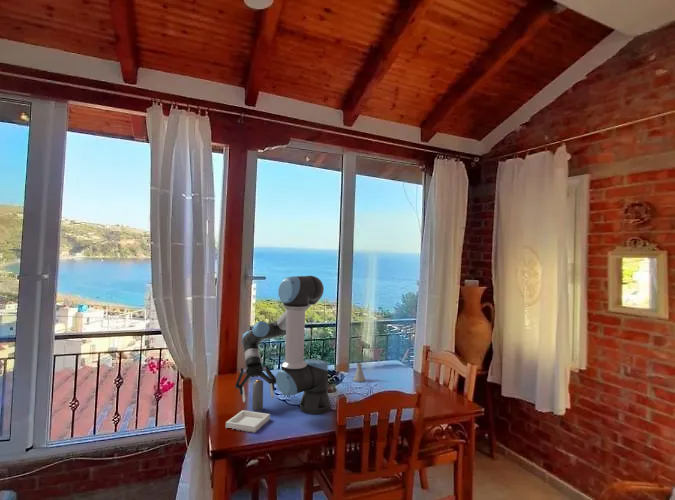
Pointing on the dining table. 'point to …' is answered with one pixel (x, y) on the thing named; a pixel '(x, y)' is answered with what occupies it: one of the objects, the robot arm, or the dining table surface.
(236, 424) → the tray
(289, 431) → the dining table surface
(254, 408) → the charcoal cell
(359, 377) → the flask
